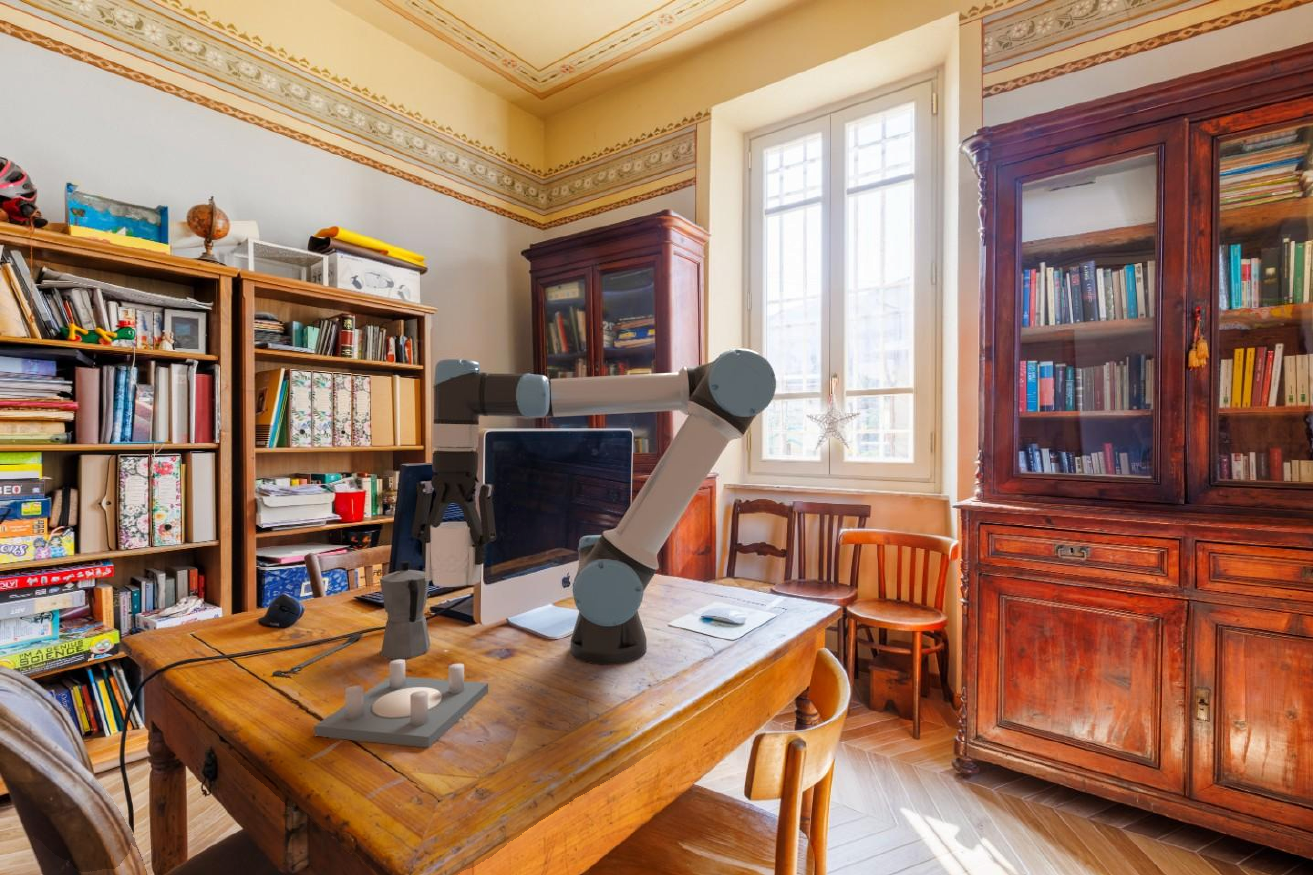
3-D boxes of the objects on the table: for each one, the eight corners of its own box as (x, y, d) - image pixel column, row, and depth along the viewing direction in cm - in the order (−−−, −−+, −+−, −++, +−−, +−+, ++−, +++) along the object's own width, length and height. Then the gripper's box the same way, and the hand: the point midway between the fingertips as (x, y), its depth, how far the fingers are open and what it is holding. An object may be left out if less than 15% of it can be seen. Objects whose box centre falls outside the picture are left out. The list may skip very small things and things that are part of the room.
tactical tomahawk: (300, 685, 106) (301, 679, 106) (270, 678, 107) (270, 672, 107) (382, 642, 126) (382, 637, 126) (355, 637, 128) (355, 632, 128)
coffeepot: (375, 645, 122) (374, 558, 122) (423, 637, 128) (422, 552, 127) (388, 671, 110) (387, 572, 109) (441, 660, 115) (440, 566, 114)
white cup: (437, 576, 108) (438, 521, 108) (481, 577, 108) (483, 522, 108) (422, 588, 100) (423, 528, 100) (469, 588, 100) (471, 529, 100)
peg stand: (488, 691, 100) (487, 659, 100) (428, 747, 83) (428, 707, 83) (391, 684, 104) (390, 652, 104) (314, 736, 86) (313, 698, 86)
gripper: (519, 450, 105) (517, 580, 105) (417, 447, 110) (414, 571, 110) (499, 451, 98) (496, 591, 98) (390, 448, 102) (387, 581, 103)
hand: (452, 580), depth 104 cm, fingers closed on white cup, 8 cm apart
